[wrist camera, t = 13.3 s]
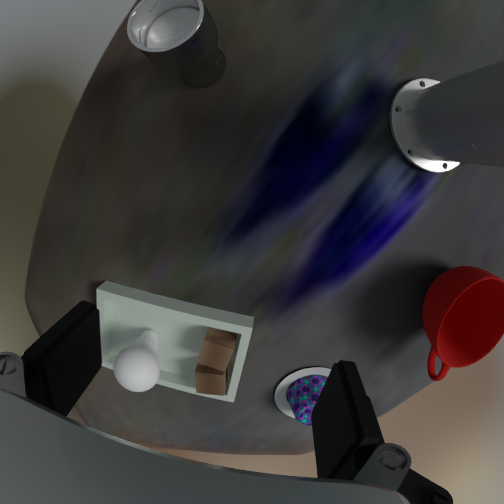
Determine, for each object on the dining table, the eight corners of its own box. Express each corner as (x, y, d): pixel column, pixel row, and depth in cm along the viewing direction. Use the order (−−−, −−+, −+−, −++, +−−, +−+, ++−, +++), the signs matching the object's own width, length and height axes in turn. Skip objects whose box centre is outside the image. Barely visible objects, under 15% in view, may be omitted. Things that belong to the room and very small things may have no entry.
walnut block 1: (237, 333, 42) (233, 350, 38) (228, 355, 43) (224, 371, 39) (209, 324, 42) (204, 339, 38) (201, 345, 43) (196, 362, 39)
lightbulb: (179, 344, 43) (163, 397, 33) (146, 354, 44) (125, 404, 34) (158, 311, 41) (135, 361, 31) (125, 322, 42) (97, 370, 32)
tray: (253, 317, 42) (252, 328, 39) (235, 389, 46) (233, 402, 43) (106, 280, 42) (96, 288, 39) (107, 355, 46) (100, 365, 43)
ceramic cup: (382, 346, 42) (404, 387, 33) (428, 241, 37) (466, 265, 28) (443, 356, 43) (468, 392, 33) (487, 264, 38) (525, 288, 28)
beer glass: (186, 99, 34) (137, 69, 20) (167, 56, 32) (115, 11, 18) (238, 76, 33) (219, 29, 19) (218, 33, 31) (189, -27, 17)
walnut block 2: (227, 358, 43) (223, 375, 39) (227, 378, 44) (224, 395, 41) (200, 355, 44) (194, 372, 40) (201, 376, 45) (196, 392, 41)
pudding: (324, 351, 43) (330, 373, 38) (359, 394, 46) (366, 416, 41) (259, 387, 46) (258, 410, 41) (300, 425, 48) (301, 447, 43)
